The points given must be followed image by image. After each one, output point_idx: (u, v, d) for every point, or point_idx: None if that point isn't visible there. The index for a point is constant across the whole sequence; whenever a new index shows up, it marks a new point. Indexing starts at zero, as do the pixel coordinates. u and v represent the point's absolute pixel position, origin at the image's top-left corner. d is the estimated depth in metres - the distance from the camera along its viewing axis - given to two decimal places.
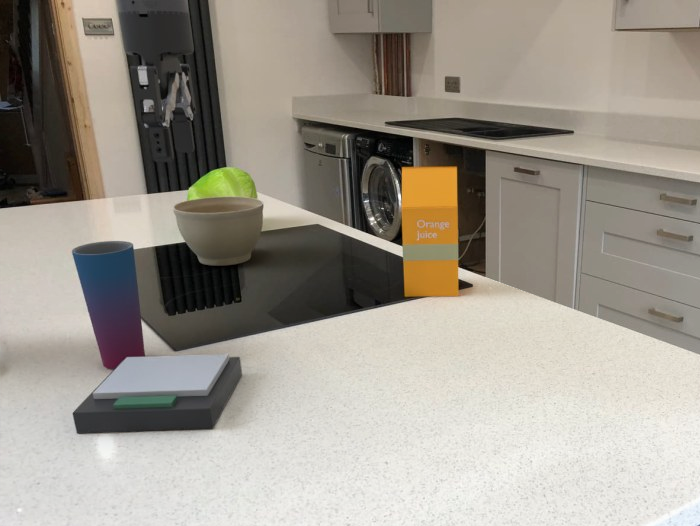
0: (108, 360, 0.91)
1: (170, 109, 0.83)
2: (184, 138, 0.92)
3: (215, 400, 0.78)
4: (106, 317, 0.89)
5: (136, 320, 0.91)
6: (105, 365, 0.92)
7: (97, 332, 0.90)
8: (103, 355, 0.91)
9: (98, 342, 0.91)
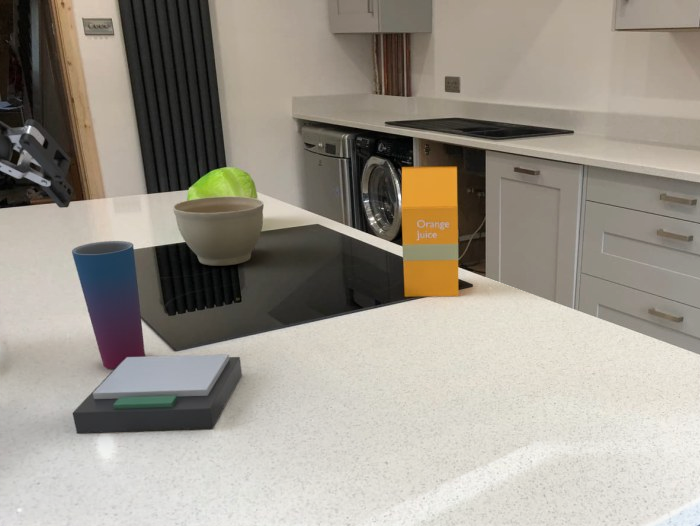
0: (108, 360, 0.91)
1: None
2: None
3: (215, 400, 0.78)
4: (106, 317, 0.89)
5: (136, 320, 0.91)
6: (105, 365, 0.92)
7: (97, 332, 0.90)
8: (103, 355, 0.91)
9: (98, 342, 0.91)
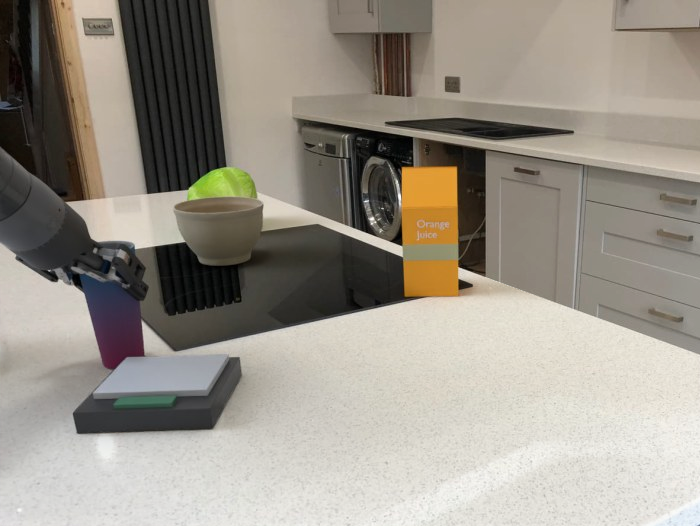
0: (108, 360, 0.91)
1: None
2: None
3: (215, 400, 0.78)
4: (107, 317, 0.89)
5: (136, 320, 0.91)
6: (105, 365, 0.92)
7: (97, 332, 0.90)
8: (103, 355, 0.91)
9: (98, 342, 0.91)
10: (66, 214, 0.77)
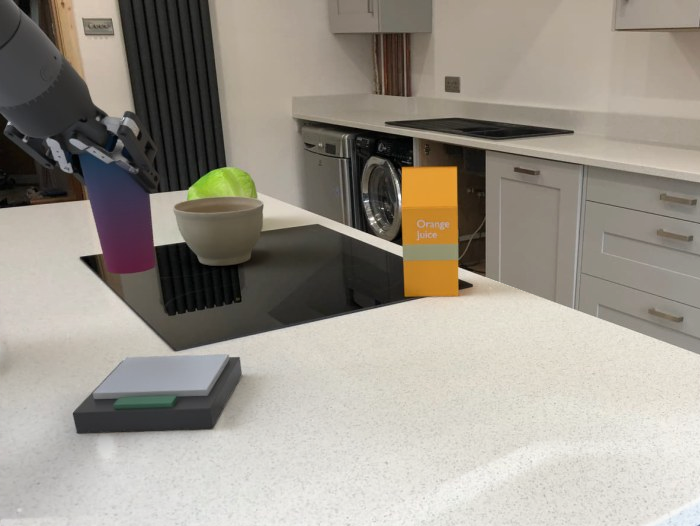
0: (113, 262, 0.78)
1: None
2: None
3: (215, 400, 0.78)
4: (111, 209, 0.76)
5: (146, 216, 0.79)
6: (109, 269, 0.79)
7: (100, 228, 0.77)
8: (107, 257, 0.79)
9: (101, 241, 0.78)
10: (63, 66, 0.65)
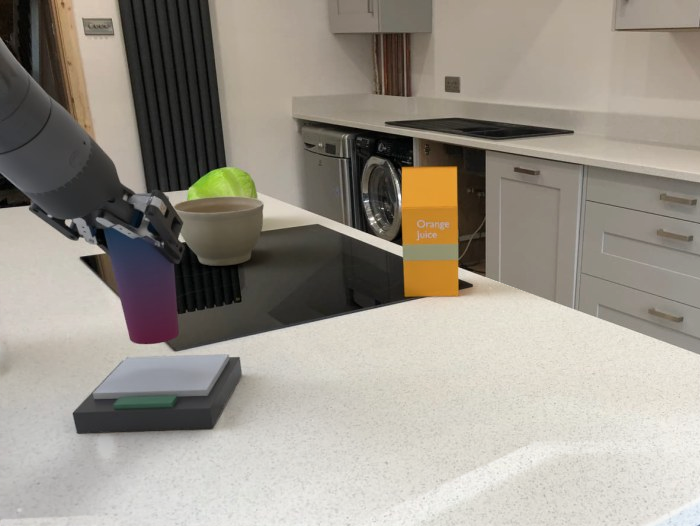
0: (137, 333, 0.78)
1: None
2: None
3: (215, 400, 0.78)
4: (136, 281, 0.75)
5: (170, 286, 0.78)
6: (133, 339, 0.78)
7: (124, 300, 0.76)
8: (131, 327, 0.78)
9: (125, 312, 0.77)
10: (92, 150, 0.64)
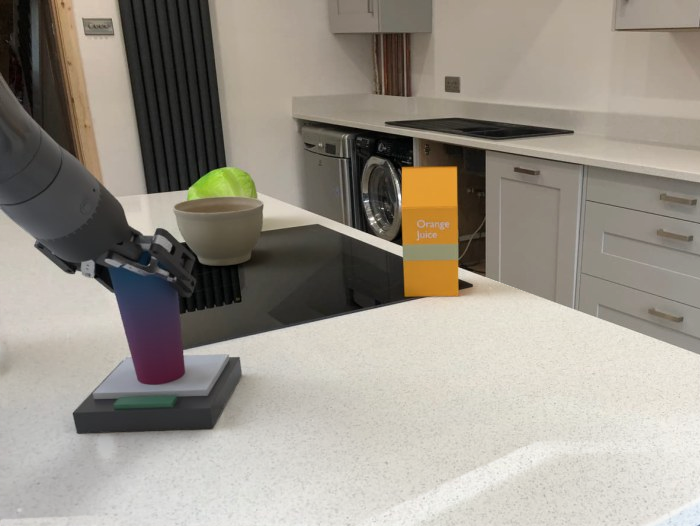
0: (144, 374, 0.79)
1: None
2: None
3: (215, 400, 0.78)
4: (142, 325, 0.77)
5: (176, 328, 0.79)
6: (140, 380, 0.80)
7: (132, 342, 0.78)
8: (138, 368, 0.79)
9: (132, 353, 0.79)
10: (101, 196, 0.65)
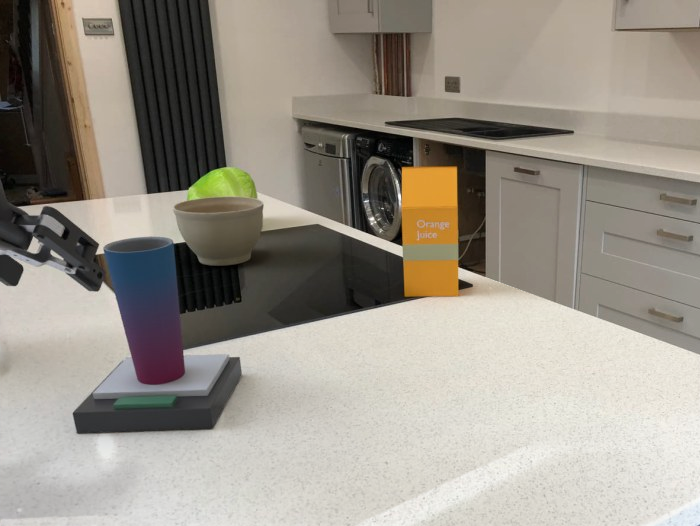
0: (144, 374, 0.79)
1: None
2: None
3: (215, 400, 0.78)
4: (142, 325, 0.77)
5: (176, 328, 0.79)
6: (140, 380, 0.80)
7: (132, 342, 0.78)
8: (138, 368, 0.79)
9: (132, 353, 0.79)
10: None
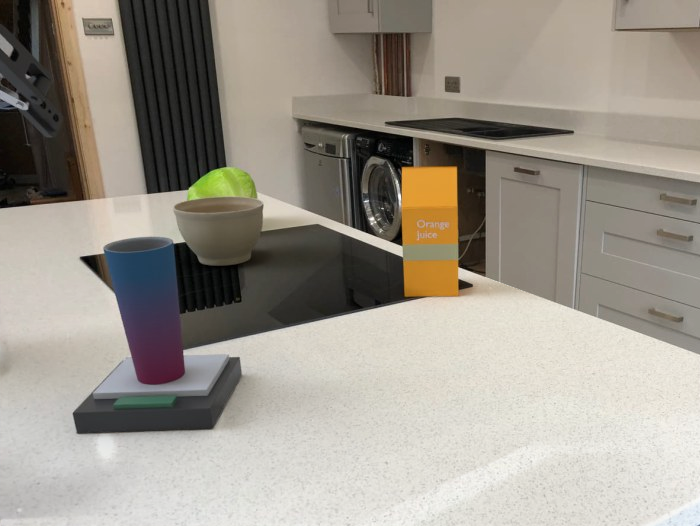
0: (144, 374, 0.79)
1: None
2: None
3: (215, 400, 0.78)
4: (142, 325, 0.77)
5: (176, 328, 0.79)
6: (140, 380, 0.80)
7: (132, 342, 0.78)
8: (138, 368, 0.79)
9: (132, 353, 0.79)
10: None
